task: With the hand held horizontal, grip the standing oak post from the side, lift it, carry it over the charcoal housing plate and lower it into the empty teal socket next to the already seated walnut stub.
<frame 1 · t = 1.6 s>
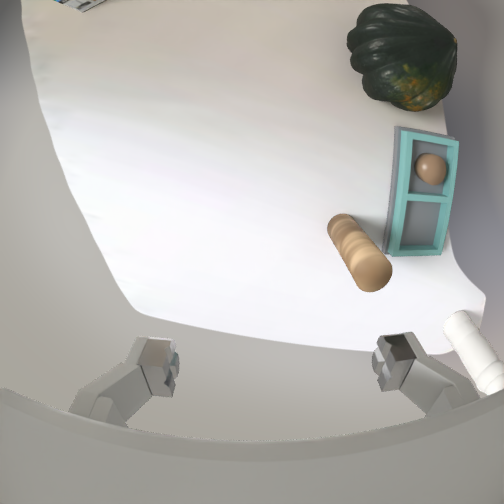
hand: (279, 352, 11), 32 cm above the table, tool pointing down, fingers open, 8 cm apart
oak post: (341, 227, 42), on the table
housing plate: (419, 193, 39), on the table
squash: (384, 60, 31), on the table
water bottle: (453, 321, 51), on the table
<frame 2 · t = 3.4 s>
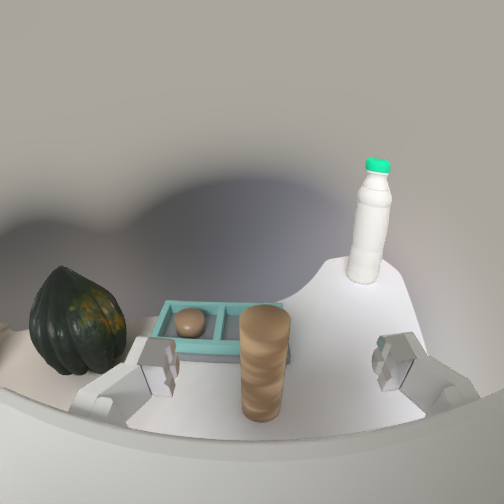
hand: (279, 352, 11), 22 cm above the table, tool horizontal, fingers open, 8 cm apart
oak post: (261, 407, 31), on the table
housing plate: (220, 336, 43), on the table
squash: (88, 356, 37), on the table
water bottle: (361, 278, 59), on the table
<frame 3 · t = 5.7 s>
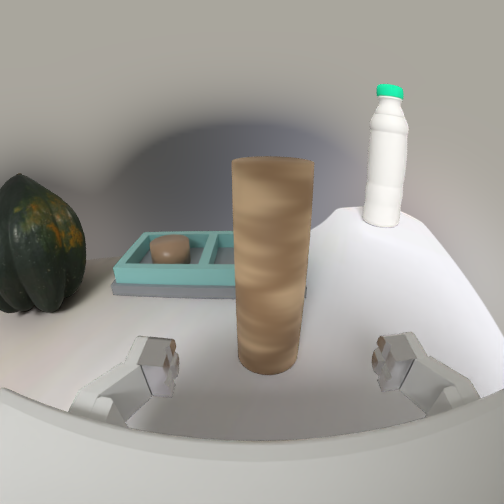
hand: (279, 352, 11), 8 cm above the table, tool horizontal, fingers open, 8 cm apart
oak post: (267, 353, 21), on the table
housing plate: (210, 271, 33), on the table
squash: (41, 298, 27), on the table
water bottle: (380, 223, 49), on the table
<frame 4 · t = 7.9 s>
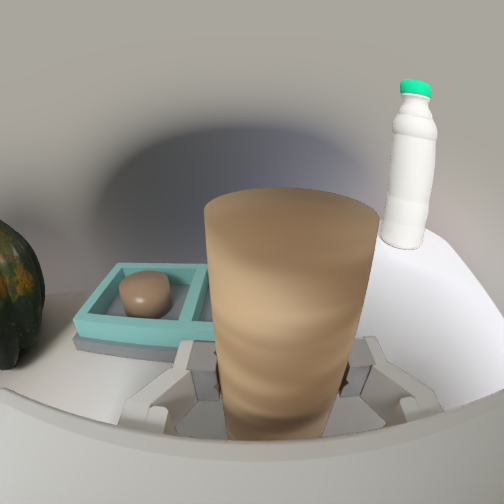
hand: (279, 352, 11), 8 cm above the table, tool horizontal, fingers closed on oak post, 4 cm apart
oak post: (271, 455, 13), on the table, touching gripper
housing plate: (197, 319, 25), on the table
squash: (2, 344, 19), on the table
water bottle: (400, 243, 41), on the table
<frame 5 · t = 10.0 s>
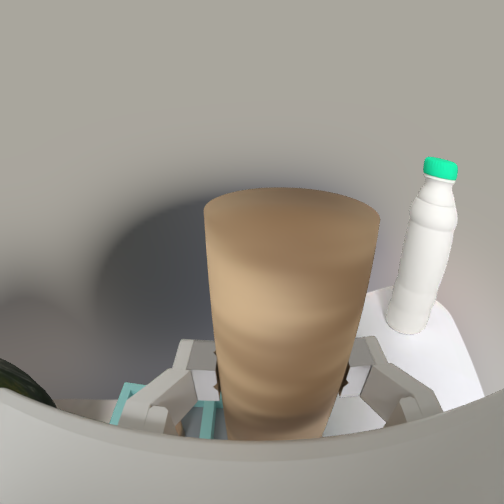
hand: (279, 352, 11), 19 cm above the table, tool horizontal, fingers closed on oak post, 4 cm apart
oak post: (271, 456, 13), point 11 cm above the table, touching gripper
housing plate: (209, 444, 23), on the table
squash: (28, 456, 17), on the table
water bottle: (404, 323, 40), on the table
when the fingers open (11 cm above the table, at t = 12.5 s): oak post drops 1 cm, resting on housing plate.
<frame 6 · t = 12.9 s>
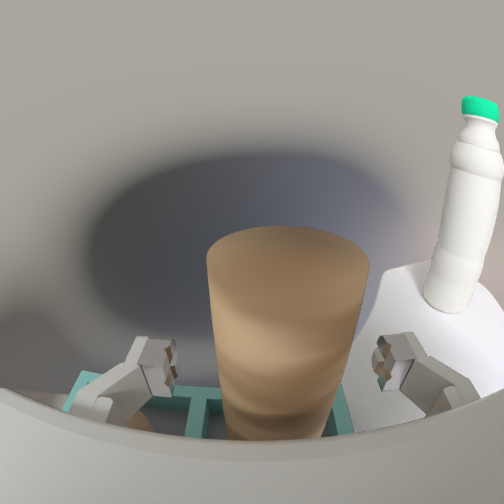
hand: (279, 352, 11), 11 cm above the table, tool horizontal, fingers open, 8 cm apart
oak post: (269, 463, 14), point 1 cm above the table, touching housing plate
housing plate: (198, 467, 14), on the table
water bottle: (444, 301, 31), on the table
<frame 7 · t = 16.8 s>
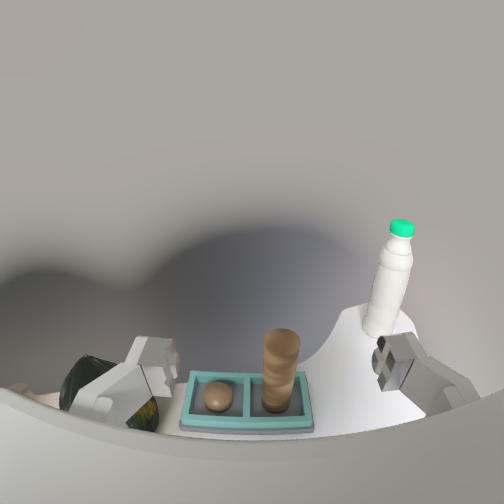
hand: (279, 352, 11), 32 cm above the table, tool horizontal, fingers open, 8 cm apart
oak post: (275, 402, 41), point 1 cm above the table, touching housing plate
housing plate: (247, 406, 42), on the table
squash: (119, 428, 36), on the table
water bottle: (376, 331, 58), on the table
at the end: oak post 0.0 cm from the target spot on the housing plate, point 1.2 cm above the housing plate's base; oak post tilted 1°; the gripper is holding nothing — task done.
